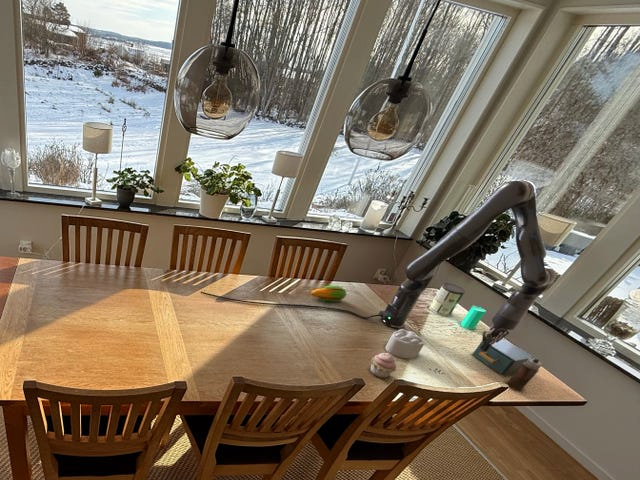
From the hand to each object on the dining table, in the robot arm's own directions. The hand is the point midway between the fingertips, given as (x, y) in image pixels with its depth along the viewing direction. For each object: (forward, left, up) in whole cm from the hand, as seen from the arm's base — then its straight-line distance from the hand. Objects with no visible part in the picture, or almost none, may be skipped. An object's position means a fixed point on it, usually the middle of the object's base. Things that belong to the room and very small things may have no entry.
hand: (483, 350), depth 162 cm
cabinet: (+18, +4, -11) cm, 21 cm away
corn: (-39, +54, -11) cm, 67 cm away
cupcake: (-45, -3, -11) cm, 46 cm away
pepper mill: (+13, -10, -11) cm, 19 cm away
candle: (+29, +34, -11) cm, 46 cm away
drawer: (+14, +4, -10) cm, 18 cm away
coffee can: (+24, +48, -11) cm, 55 cm away
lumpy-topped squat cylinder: (-25, +12, -11) cm, 30 cm away
